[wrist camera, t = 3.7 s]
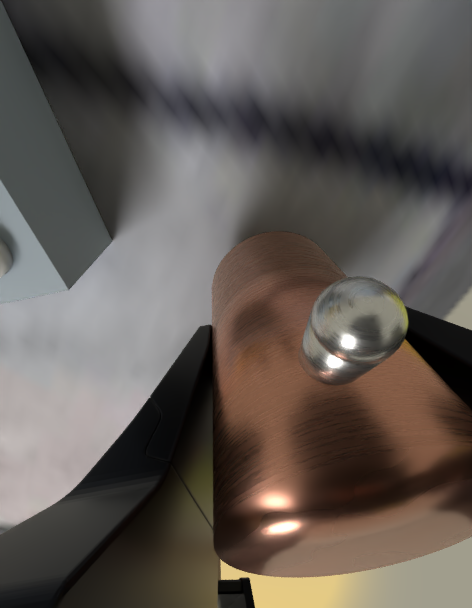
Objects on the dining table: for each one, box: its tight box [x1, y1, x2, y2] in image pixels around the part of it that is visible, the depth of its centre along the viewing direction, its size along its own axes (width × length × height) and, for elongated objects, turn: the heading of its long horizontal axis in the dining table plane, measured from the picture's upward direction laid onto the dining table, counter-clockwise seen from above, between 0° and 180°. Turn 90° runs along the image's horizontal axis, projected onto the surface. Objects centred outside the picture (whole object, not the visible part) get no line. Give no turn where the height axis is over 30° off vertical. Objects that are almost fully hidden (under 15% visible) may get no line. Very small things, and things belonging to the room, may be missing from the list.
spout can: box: [212, 231, 472, 577], centre depth 7 cm, size 7×5×8 cm
